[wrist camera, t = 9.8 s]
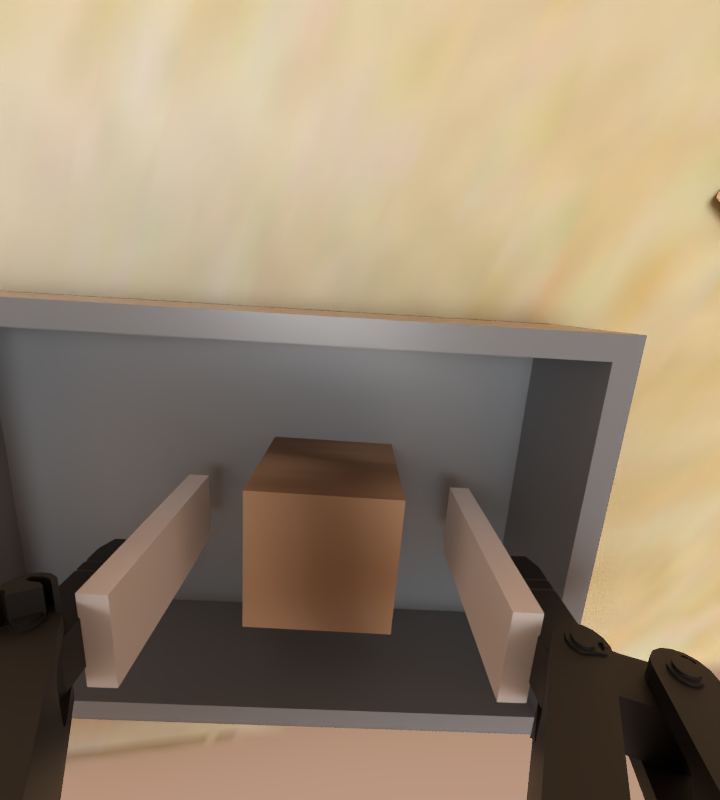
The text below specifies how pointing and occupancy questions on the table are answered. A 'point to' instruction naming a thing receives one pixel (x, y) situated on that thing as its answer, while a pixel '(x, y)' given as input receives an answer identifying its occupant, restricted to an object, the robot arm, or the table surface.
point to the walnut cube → (322, 537)
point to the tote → (310, 419)
